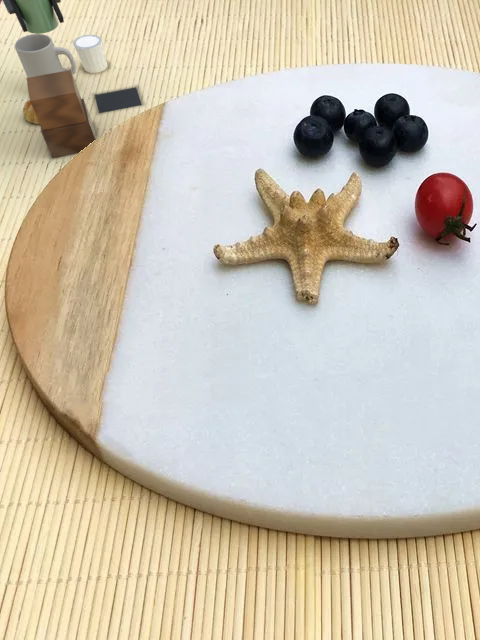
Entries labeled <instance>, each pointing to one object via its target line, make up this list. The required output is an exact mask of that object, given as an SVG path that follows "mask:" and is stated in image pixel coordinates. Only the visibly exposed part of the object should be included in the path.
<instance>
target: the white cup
mask: <svg viewBox="0 0 480 640" xmlns="http://www.w3.org/2000/svg"><path fill="white" fill-rule="evenodd" d="M72 45H73V47H74V49H75V51H76V53H77V56H78V58H79V60H80V62H81V64H82V67H83V69H84V71H86V72H87V73H90V74H96V73H101V72H103V71H106V69H107V68H108V61H107V57H106V51H105V48H104V43H103V39H102V37H100V36H99V35H96V34H84V35H81V36H79V37H76V38H75V39H74V40H73V43H72Z"/></svg>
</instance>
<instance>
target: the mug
mask: <svg viewBox="0 0 480 640" xmlns="http://www.w3.org/2000/svg"><path fill="white" fill-rule="evenodd" d="M14 48H15V51H16V54H17V56H18V58H19V60H20V63H21V66H22V68H23V70H24V73H25V75H26V78H29V77H34V76H40V75H45V74H51V73H57V72H62V71H68V70H71V72H72V75H73V76H74V75H75V74H76V71H77V64H76V61H75V59H74V56H73V54H72V53H71V52H70V50H69V49H67V48H65V47H62V46H61V47H59V46H55V44H54V42H53V40H52V38H51V37H50V36H49V35H47V34H45V33H42V34H34V33H30V34H27V35H24V36H22V37H20V38H19V39H17V40H16V42H15V43H14ZM60 55H61V56H62V55H64V56H66V57H67V58H68V60H69V63H70V68H64V67H63V65H62V62H61V59H60V58H59V56H60Z"/></svg>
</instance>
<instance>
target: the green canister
mask: <svg viewBox="0 0 480 640" xmlns="http://www.w3.org/2000/svg"><path fill="white" fill-rule="evenodd" d="M15 3H16V5H17V7H18V9H19V11H20V14H21V16H22V18H23V20H24V22H25V24H26V27H27V32H28V33H30V34H46V33H50V32H52V31H54V30H56V29H57V28H58V26H59V24H60V22H59V19H58V17H57V15H56V13H55V11H54V8H53V6H52V4H51V1H50V0H15Z"/></svg>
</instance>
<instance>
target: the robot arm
mask: <svg viewBox="0 0 480 640" xmlns="http://www.w3.org/2000/svg"><path fill="white" fill-rule="evenodd" d="M50 1H51V4H52V6H53V9H54V12H55V14H56V17H57V20H58V23H59V24H62V23H65V21H64V16H63V13H62V10H61V9H60V7H59V4H60V3H62V1H61V0H50ZM2 2H3V5H4V7H5V9H6V11H7V13H8V14H9V15H15V17H16V19H17V21H18V23H19V26H20V27H21V29H22V31H23V33H26V32H28V31H27V27H26V24H25V22H24V20H23V18H22V16H21V14H20V11H19V9H18V7H17V5H16V3H15V0H2Z"/></svg>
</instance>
